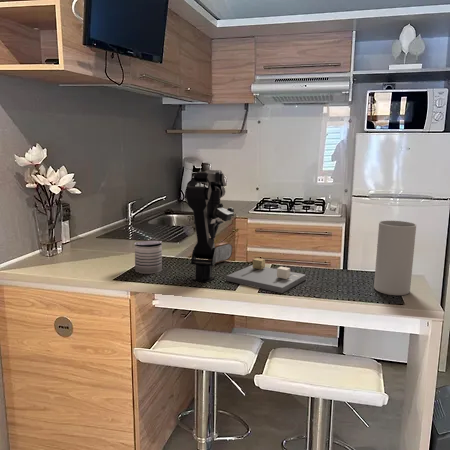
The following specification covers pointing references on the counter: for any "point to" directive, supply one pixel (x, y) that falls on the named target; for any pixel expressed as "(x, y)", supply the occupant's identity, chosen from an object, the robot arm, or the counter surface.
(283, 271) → the block
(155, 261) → the can
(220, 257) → the tin
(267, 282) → the fader panel
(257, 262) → the brass fader
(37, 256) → the counter surface
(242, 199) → the counter surface
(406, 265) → the cylinder vase
